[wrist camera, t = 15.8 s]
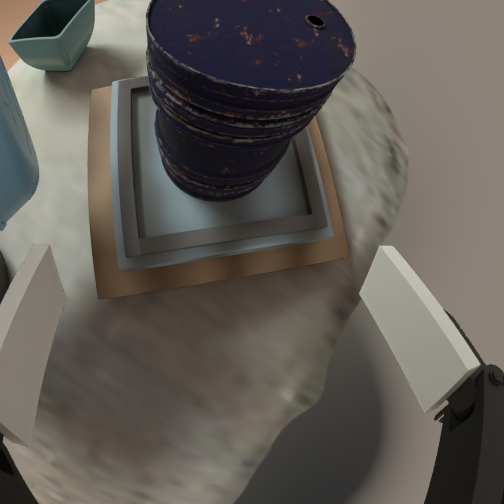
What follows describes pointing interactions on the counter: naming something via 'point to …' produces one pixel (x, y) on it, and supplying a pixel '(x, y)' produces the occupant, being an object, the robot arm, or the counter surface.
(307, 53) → the dark blue cylinder
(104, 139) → the tower base
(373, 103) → the counter surface
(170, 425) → the counter surface
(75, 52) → the flower pot
